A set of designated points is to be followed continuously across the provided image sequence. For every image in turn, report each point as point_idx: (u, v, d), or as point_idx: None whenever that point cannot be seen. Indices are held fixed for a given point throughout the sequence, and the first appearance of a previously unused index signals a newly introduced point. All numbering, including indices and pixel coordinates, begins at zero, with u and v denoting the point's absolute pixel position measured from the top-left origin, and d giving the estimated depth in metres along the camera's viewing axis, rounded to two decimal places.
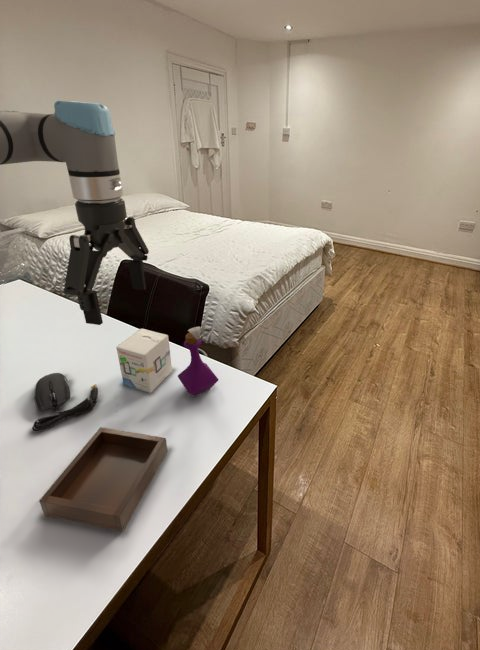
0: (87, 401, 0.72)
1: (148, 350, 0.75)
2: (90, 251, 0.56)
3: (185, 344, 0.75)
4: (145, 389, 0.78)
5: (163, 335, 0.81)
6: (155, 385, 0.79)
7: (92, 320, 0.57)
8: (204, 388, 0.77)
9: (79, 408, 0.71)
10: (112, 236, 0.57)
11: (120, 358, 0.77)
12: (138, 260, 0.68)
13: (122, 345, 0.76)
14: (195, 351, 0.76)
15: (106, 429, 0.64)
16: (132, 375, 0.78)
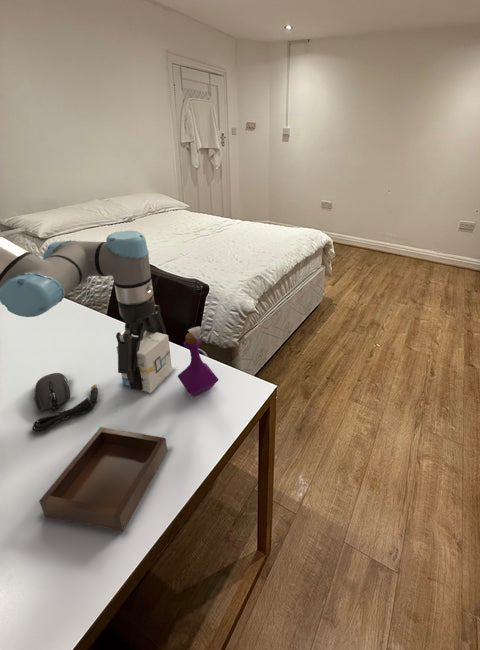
0: (87, 401, 0.72)
1: (148, 350, 0.75)
2: (130, 338, 0.74)
3: (185, 344, 0.75)
4: (145, 389, 0.78)
5: (163, 335, 0.81)
6: (155, 385, 0.79)
7: (135, 387, 0.77)
8: (204, 388, 0.77)
9: (79, 408, 0.71)
10: (145, 324, 0.75)
11: None
12: None
13: None
14: (195, 351, 0.76)
15: (106, 429, 0.64)
16: None
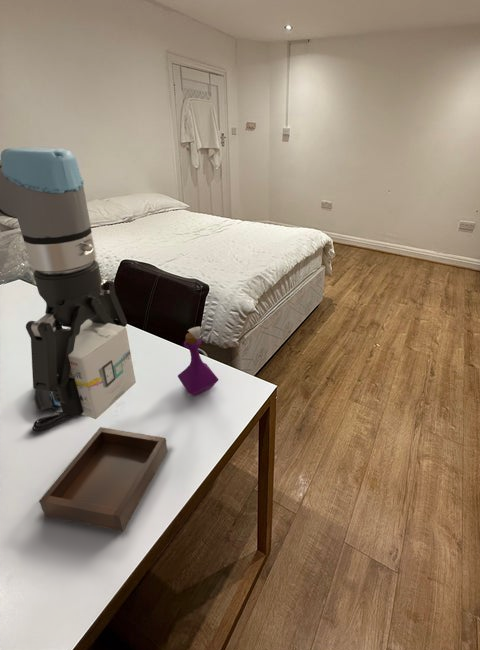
0: None
1: (88, 351, 0.46)
2: (58, 331, 0.45)
3: (185, 344, 0.75)
4: (88, 412, 0.49)
5: (118, 327, 0.52)
6: (104, 406, 0.50)
7: (70, 410, 0.48)
8: (204, 388, 0.77)
9: None
10: (83, 309, 0.46)
11: None
12: None
13: None
14: (195, 351, 0.76)
15: (106, 429, 0.64)
16: None
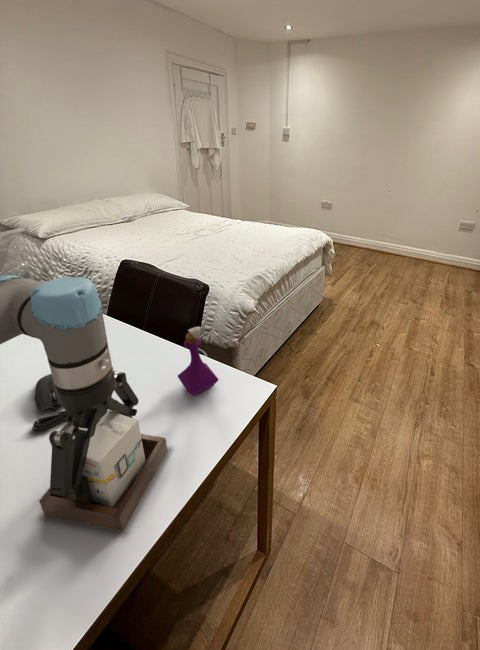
0: None
1: (105, 452, 0.51)
2: (75, 434, 0.50)
3: (185, 344, 0.75)
4: (104, 503, 0.54)
5: (131, 421, 0.57)
6: (118, 495, 0.55)
7: None
8: (204, 388, 0.77)
9: None
10: (99, 412, 0.51)
11: None
12: None
13: None
14: (195, 351, 0.76)
15: None
16: None
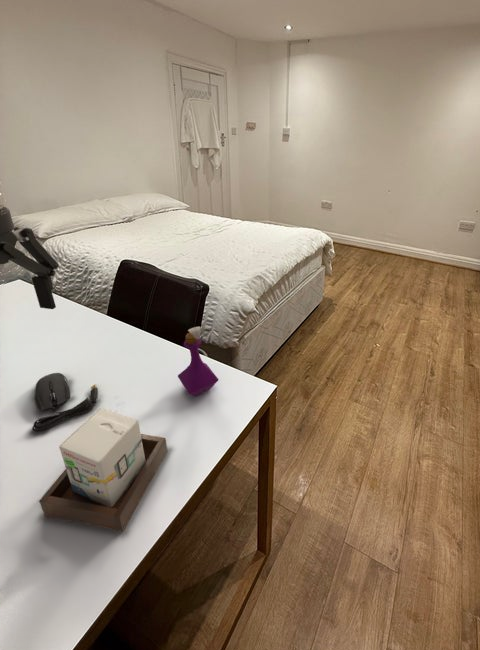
0: (87, 401, 0.72)
1: (105, 452, 0.51)
2: None
3: (185, 344, 0.75)
4: (104, 503, 0.54)
5: (131, 421, 0.57)
6: (118, 495, 0.55)
7: None
8: (204, 388, 0.77)
9: (79, 408, 0.71)
10: None
11: (66, 461, 0.52)
12: (43, 276, 0.60)
13: (68, 443, 0.52)
14: (195, 351, 0.76)
15: None
16: (84, 484, 0.53)
